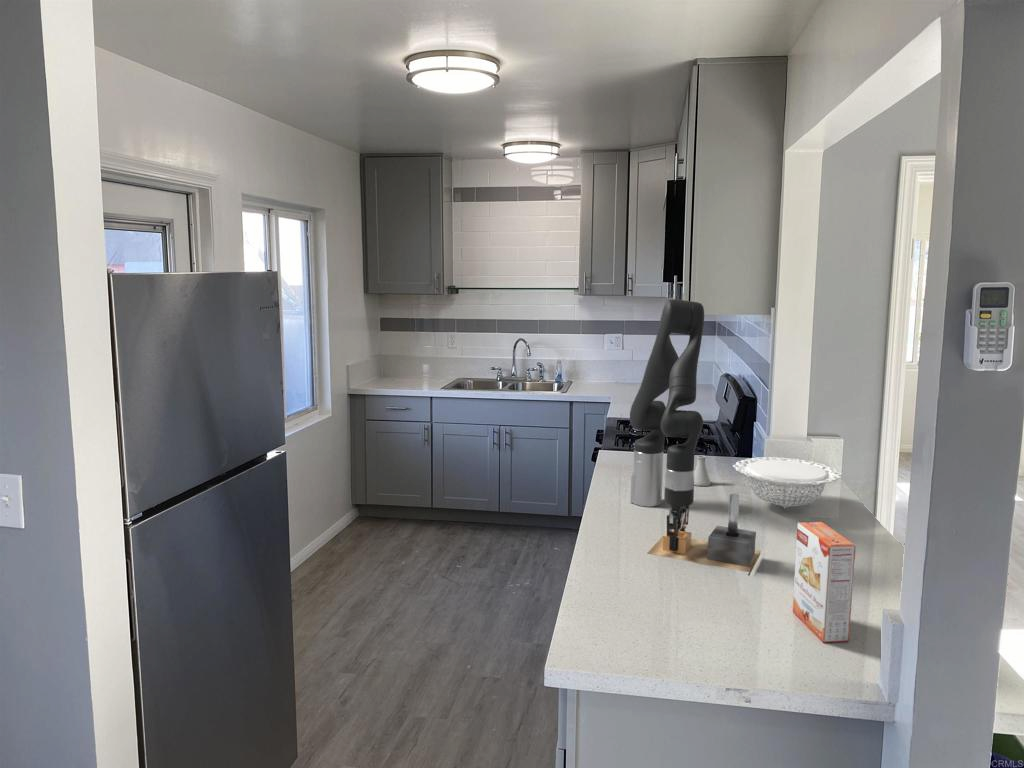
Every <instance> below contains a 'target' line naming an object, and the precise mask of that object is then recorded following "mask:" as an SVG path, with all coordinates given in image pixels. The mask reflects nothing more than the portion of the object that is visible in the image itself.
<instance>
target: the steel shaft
mask: <svg viewBox="0 0 1024 768" xmlns="http://www.w3.org/2000/svg"><path fill="white" fill-rule="evenodd" d="M728 499H729V500H728V518H727V519H728V521H727V527H728V536H732V537H737V531H738V529H739V527H738V525H739V512H740V511H739V508H740V495H739V493H729V497H728Z"/></svg>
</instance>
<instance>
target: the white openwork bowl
mask: <svg viewBox="0 0 1024 768" xmlns="http://www.w3.org/2000/svg"><path fill="white" fill-rule="evenodd" d="M732 467H733V468H734V469H735V470H736V471H737V472H739V473H740V474H743V475H745V476H746V477H747V479H748V481H747V482H748V484H749V488H750V489H751V491H752V492H753V494H754V495H755V496H757V497H758V499H760V500H762V501H765V502H766V503H771V504H774V505H775V506H780V507H782V506H783V507H786V508H790V507H798V506H799V507H800V506H806V505H809V504H812V503H813V502H816V501H817V500H818V499H819V497H821V496H822V495H823V494H822V493H823V492H824V490H825V486H826V484H830V483H832V482H837V480H840V479H841V476H843V473H842V472H840V471H839V470H838V469H836V468H832V466H829V465H828V466H827V464H823V463H819V462H815V461H812V460H805V459H798V458H790V457H789V458H786V457H779V456H778V457H777V456H771V457H770V456H769V457H763V456H762V457H761V456H759V457H758V456H757V457H752V458H749V457H748V458H746V459H741V460H739V461H736V462H735V464H732ZM802 491H803V492H802ZM783 507H782V508H783Z"/></svg>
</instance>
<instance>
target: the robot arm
mask: <svg viewBox="0 0 1024 768" xmlns="http://www.w3.org/2000/svg"><path fill="white" fill-rule="evenodd" d="M704 324H705V309H704V305H703V304H702V303H700V302H698V301H693V300H691V301H690V300H683V299H676V298H675V299H673V298H672V299H671V298H670V299H668V300H667V301H666V302H665V303H664V306H663V309H662V311H661V316H660V321H659V325H658V330H657V333H656V338H655V341H654V343H653V346H652V350H651V351H650V355H649V358H648V361H647V364H646V367H645V371H644V374H643V377H642V381H641V383H640V386H639V390H638V391H637V393H636V396H635V398H634V400H633V402H632V404H631V408H630V411H629V423H630V425H631V427H632V428H633V429H634V430H638V431H650V432H649V433H648V434H647V435H645V436H644V437H641V438H638V439H636V440H635V441H634V445H633V470H632V471H633V472H632V473H631V474H630V475H631V476H630V477H631V478H630V503H631V504H634V505H636V506H640V507H649V508H650V507H651V508H652V507H658V506H661V505H662V501H664V503H666V504H667V505H670V506H671V507H670V509H669V512H668V514H667V515H666V532H667V536H668V537H670V542H669V549H670V550H671V551H677V550H678V541H679V532H680V531H685V532H686V530H687V526H688V524H689V517H690V516H689V513H690V506H692V505H693V503H694V497H695V496H694V495H695V485H694V471H695V454H696V448H697V444H698V441H699V438H700V435H701V432H702V430H703V426H704V419H703V416H702V415H701V413H700V412H698V411H696V410H683V409H682V410H681V409H680V410H679V409H678V408H680V407H684V406H689V405H692V404H694V403H695V402H696V399H697V376H698V375H697V372H698V365H699V364H698V363H699V357H700V352H701V345H702V338H703V331H704ZM671 334H677V335H678V334H680V335H688V336H689V339H688V343H687V345H686V347H685V348H684V350H683V352H682V353H681V354H680V356H678V353H677V351H676V349H675V347H674V345H673V343H672V341H671V337H670V335H671ZM667 390H668V398H667V403H666V405H665V402H664V401H661V400H656V399H657V398H659V397H660V396H661V395H663V394H664V393H665V392H666V391H667ZM666 437H669V438H684V439H685V438H687V439H686V441H685V442H684V443H680V444H675V445H670V446H669V447H668V448H667V451H666V468H665V475H664V499H663V474H664V470H663V469H664V450H665V449H664V446H665V439H666ZM662 499H663V500H662ZM672 529H673V530H674V533H673V532H672Z"/></svg>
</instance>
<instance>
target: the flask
mask: <svg viewBox="0 0 1024 768" xmlns="http://www.w3.org/2000/svg"><path fill="white" fill-rule="evenodd" d="M696 458H697V460H696V461H697V463H696V467H695V468H694V486H697V487H710V485H712V483H711V480H710V476H709V473H708V471H707V466H706V465H707V464H706V458H707V456H706V455H701V454H699V455H698V454H697V455H696Z"/></svg>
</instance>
